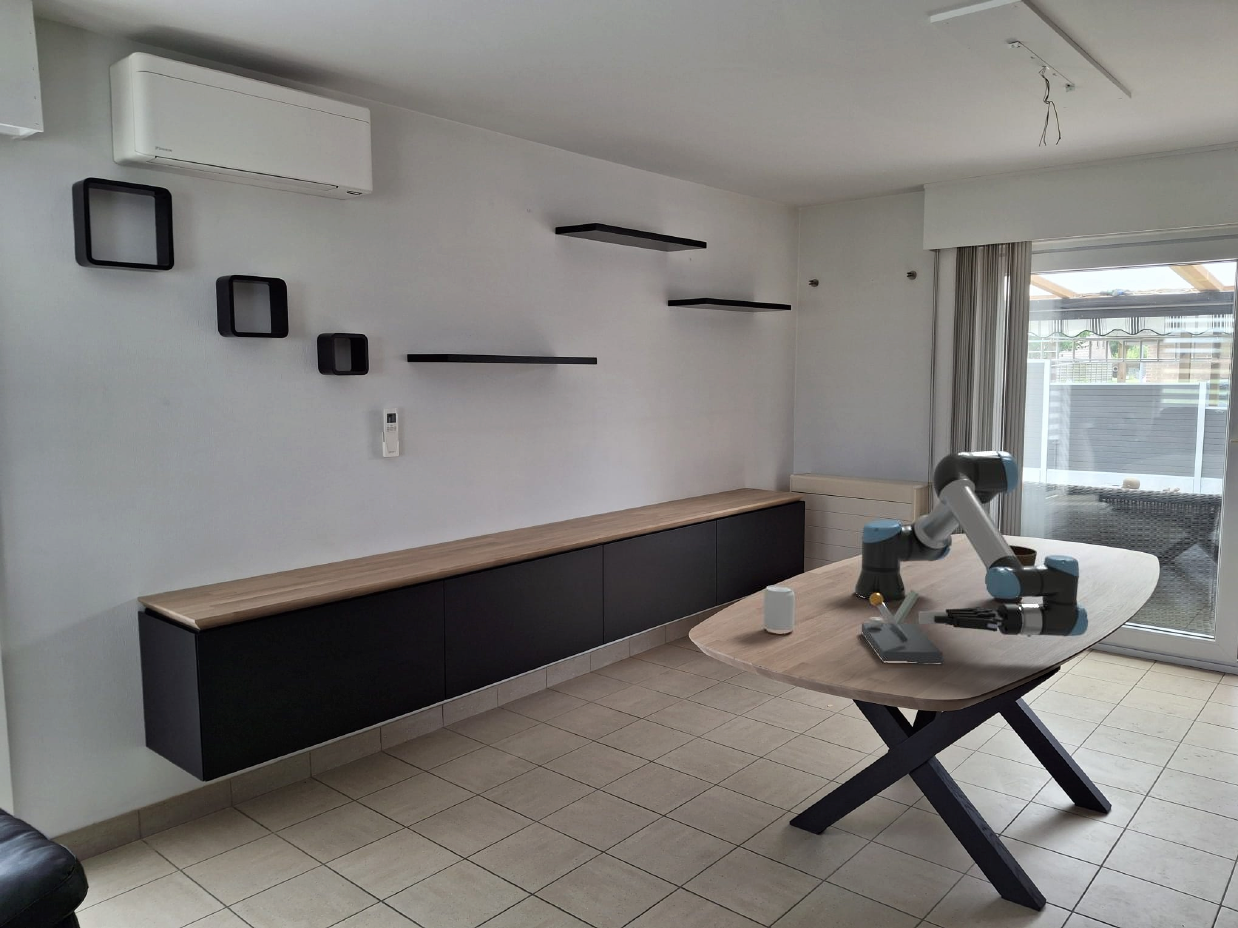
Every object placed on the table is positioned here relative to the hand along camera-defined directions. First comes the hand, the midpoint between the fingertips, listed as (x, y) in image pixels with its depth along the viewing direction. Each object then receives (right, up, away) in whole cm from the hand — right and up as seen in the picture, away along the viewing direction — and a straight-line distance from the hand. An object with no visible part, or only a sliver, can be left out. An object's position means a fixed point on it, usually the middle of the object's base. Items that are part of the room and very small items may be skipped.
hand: (919, 617), depth 216 cm
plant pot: (+46, -5, +54) cm, 71 cm away
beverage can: (-31, -8, +23) cm, 39 cm away
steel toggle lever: (-3, -7, +1) cm, 7 cm away
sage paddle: (-2, -5, +15) cm, 16 cm away
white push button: (-6, -6, +15) cm, 18 cm away
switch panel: (-2, -9, +9) cm, 13 cm away
